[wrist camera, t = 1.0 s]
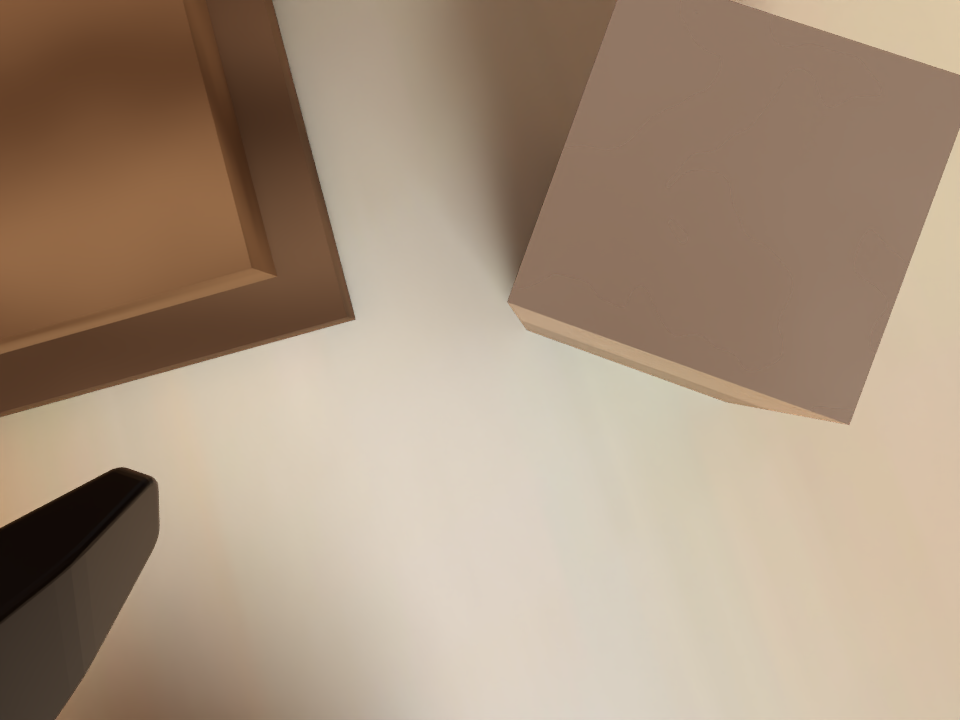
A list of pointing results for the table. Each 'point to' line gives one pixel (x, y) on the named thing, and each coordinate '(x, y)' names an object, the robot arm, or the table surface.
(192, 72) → the walnut stand
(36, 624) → the robot arm
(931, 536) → the table surface
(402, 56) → the table surface
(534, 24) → the table surface
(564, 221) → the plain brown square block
